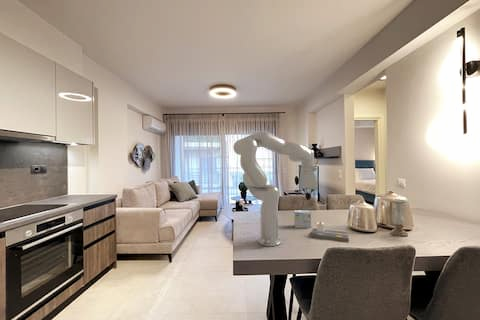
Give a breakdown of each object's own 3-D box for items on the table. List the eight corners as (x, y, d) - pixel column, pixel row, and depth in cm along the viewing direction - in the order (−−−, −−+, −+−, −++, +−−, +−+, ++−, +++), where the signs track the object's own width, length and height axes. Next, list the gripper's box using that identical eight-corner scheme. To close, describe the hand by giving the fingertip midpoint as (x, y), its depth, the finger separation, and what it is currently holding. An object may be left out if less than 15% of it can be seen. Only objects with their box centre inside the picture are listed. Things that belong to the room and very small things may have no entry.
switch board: (348, 242, 125) (348, 236, 125) (310, 237, 133) (310, 232, 133) (348, 235, 136) (348, 230, 136) (313, 231, 144) (313, 226, 144)
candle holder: (387, 233, 139) (386, 200, 139) (395, 231, 143) (394, 198, 143) (402, 237, 131) (402, 202, 131) (411, 235, 135) (410, 200, 135)
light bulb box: (309, 225, 158) (309, 210, 158) (311, 228, 151) (311, 212, 152) (293, 225, 159) (293, 209, 159) (295, 228, 152) (295, 211, 153)
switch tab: (324, 232, 134) (323, 223, 134) (316, 232, 135) (316, 222, 135) (324, 231, 137) (324, 221, 137) (317, 230, 139) (317, 221, 139)
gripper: (321, 169, 140) (321, 199, 140) (296, 169, 146) (297, 198, 146) (320, 170, 133) (320, 201, 133) (294, 170, 139) (294, 200, 139)
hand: (308, 199), depth 139 cm, fingers closed
